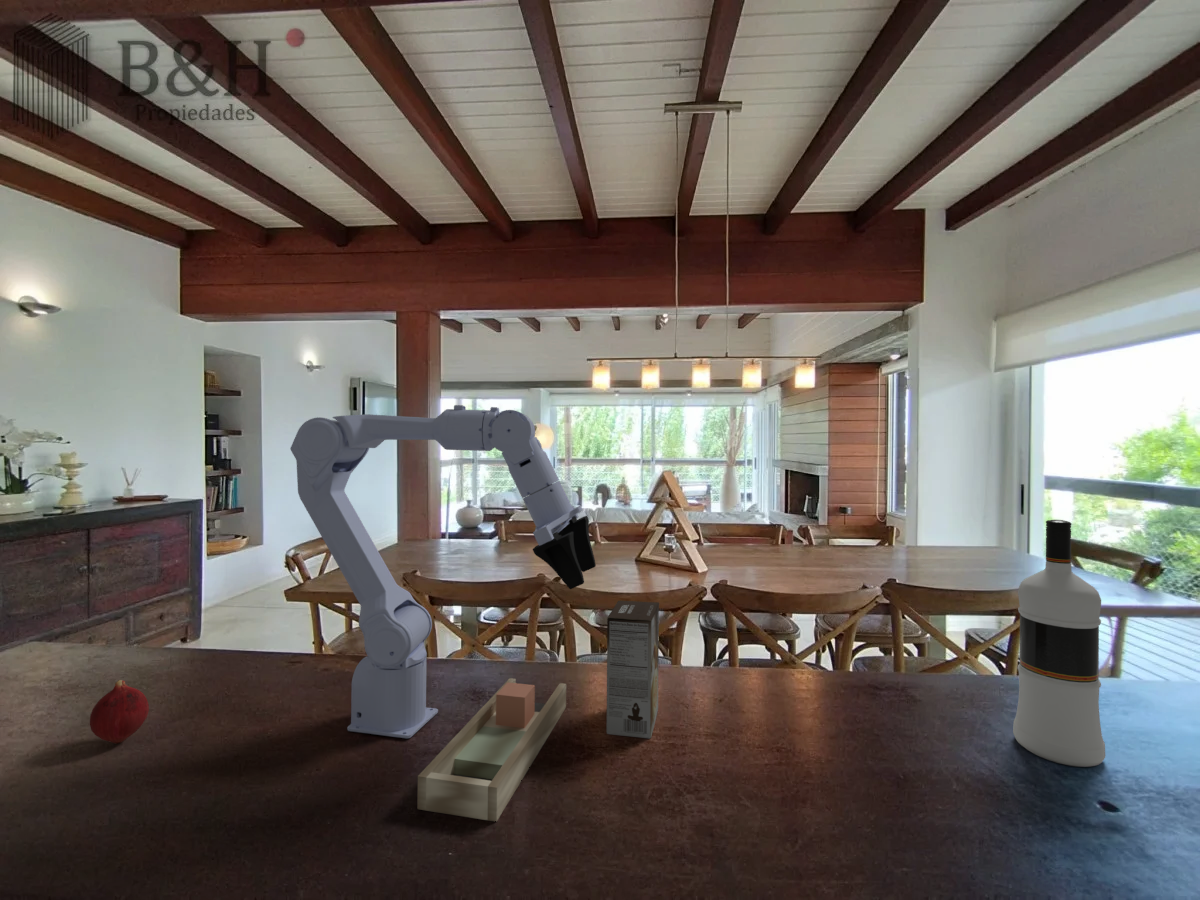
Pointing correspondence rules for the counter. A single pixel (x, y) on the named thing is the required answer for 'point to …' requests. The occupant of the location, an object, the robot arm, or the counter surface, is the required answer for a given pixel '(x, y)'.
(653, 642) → the coffee box
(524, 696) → the block
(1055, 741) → the vodka
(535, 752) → the trap lane
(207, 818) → the counter surface
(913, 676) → the counter surface
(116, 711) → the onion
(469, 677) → the counter surface
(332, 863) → the counter surface
